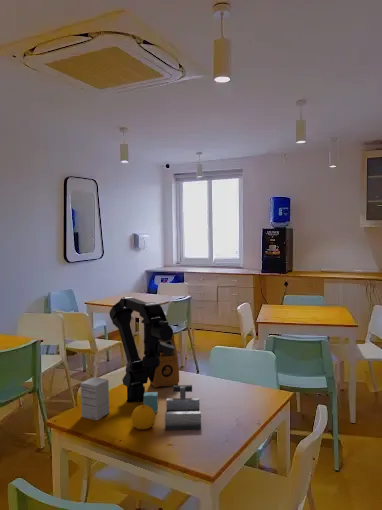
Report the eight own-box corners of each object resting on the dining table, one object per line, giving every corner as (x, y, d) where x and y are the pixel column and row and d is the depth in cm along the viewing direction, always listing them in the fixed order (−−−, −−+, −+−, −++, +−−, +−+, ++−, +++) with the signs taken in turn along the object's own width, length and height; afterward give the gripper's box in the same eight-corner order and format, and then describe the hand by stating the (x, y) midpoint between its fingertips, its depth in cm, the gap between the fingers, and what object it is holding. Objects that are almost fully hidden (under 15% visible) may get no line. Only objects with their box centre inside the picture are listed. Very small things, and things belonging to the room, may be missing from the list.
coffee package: (181, 386, 186) (180, 336, 185) (152, 389, 182) (151, 338, 182) (175, 379, 195) (175, 331, 194) (148, 382, 192) (147, 333, 191)
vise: (165, 430, 143) (165, 415, 143) (167, 409, 161) (166, 396, 161) (201, 429, 143) (201, 414, 143) (198, 408, 161) (198, 395, 161)
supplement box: (93, 410, 161) (93, 376, 161) (109, 413, 158) (109, 379, 157) (80, 417, 154) (79, 382, 154) (97, 420, 151) (96, 385, 151)
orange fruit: (151, 421, 150) (151, 399, 150) (158, 430, 143) (157, 407, 143) (129, 424, 148) (129, 403, 148) (134, 434, 140) (134, 411, 140)
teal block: (143, 412, 159) (143, 396, 158) (144, 407, 163) (144, 392, 162) (157, 411, 159) (157, 395, 158) (158, 407, 163) (157, 392, 162)
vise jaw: (166, 410, 156) (166, 390, 155) (167, 403, 162) (166, 384, 161) (199, 409, 156) (199, 389, 156) (198, 403, 162) (198, 384, 162)
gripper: (173, 341, 151) (174, 385, 152) (172, 330, 170) (173, 369, 170) (141, 342, 151) (142, 386, 151) (144, 331, 169) (145, 370, 170)
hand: (152, 377), depth 161 cm, fingers open, 9 cm apart
